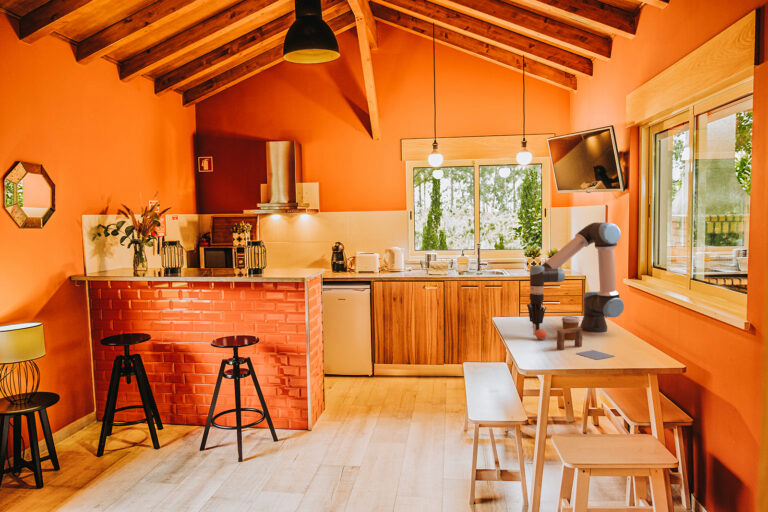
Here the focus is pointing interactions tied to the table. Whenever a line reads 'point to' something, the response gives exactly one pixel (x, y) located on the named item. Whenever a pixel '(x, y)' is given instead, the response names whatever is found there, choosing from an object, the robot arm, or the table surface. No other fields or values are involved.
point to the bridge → (561, 332)
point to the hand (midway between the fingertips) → (535, 335)
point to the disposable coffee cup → (570, 326)
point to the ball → (541, 334)
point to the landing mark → (595, 354)
